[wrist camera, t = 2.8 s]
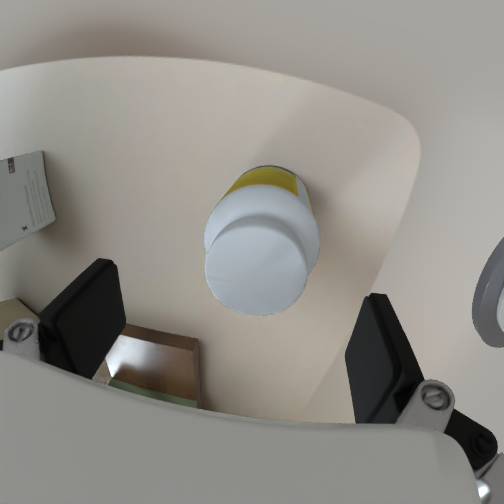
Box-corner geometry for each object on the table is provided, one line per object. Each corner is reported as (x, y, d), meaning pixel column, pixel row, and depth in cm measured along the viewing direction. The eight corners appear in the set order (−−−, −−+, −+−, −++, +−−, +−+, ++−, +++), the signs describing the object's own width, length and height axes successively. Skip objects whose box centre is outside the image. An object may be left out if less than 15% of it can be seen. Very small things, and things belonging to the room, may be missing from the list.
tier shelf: (198, 338, 31) (172, 403, 23) (205, 447, 42) (193, 490, 34) (103, 317, 32) (64, 368, 23) (140, 430, 43) (124, 469, 35)
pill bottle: (217, 181, 23) (159, 233, 13) (293, 152, 22) (299, 180, 11) (248, 250, 26) (220, 342, 15) (321, 227, 24) (342, 311, 13)
